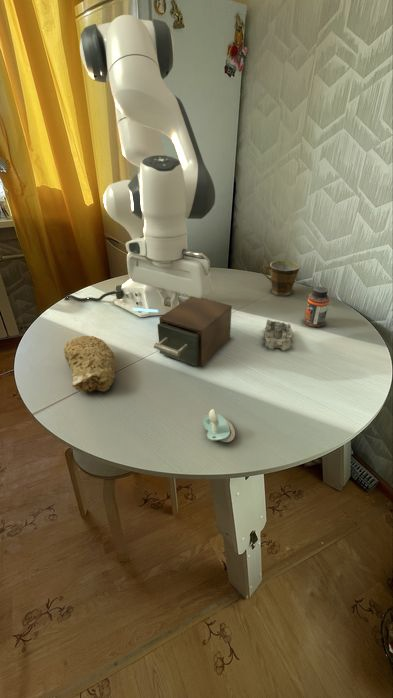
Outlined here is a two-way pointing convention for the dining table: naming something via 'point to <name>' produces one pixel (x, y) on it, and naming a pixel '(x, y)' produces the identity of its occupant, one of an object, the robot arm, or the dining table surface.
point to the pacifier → (218, 427)
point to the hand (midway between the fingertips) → (169, 306)
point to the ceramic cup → (282, 276)
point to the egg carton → (277, 335)
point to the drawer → (178, 343)
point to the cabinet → (203, 323)
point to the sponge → (90, 363)
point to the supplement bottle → (317, 307)
